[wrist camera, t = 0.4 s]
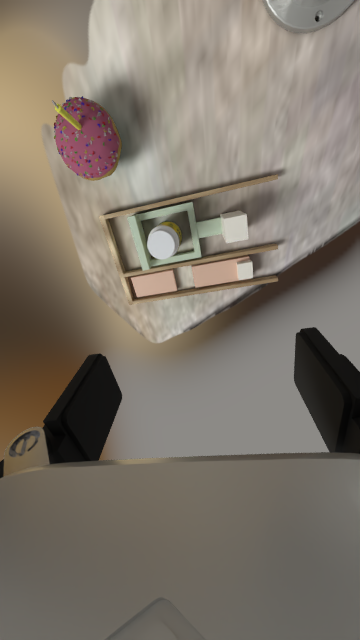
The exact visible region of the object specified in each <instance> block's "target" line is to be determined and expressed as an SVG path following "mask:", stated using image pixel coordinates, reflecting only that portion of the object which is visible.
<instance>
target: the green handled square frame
mask: <svg viewBox="0 0 360 640" xmlns="http://www.w3.org/2000/svg"><path fill="white" fill-rule="evenodd" d="M182 211H188V217H189V223H190V229H191V234H192V240H193V246H194V251H191V252H186V253H181V254H175V255H173V256H171V257H169V258H167V259H157V258H155V259H151V256H150V253H149V250H148V247H147V242H146V238H145V234H144V230H143V227H142V223H141V221H142V220H147V219H151V218H156V217H160V216H165V215H169V214H173V213H178V212H182ZM127 218H128V222H129V225H130V229H131V232H132V235H133V239H134V242H135V246H136V249H137V253H138V256H139V259H140V263H141V266H142V270H143V271H144V270H149V269H150V268H151V266H156V265H162V264H167V263H172V262H178V261H183V260H188V259H194V258H199V257H201V250H200V244H199V238H203V237H208V236H212V235H217V234H222V235H223V237H224V239H225V241H226V243H231V242H236V241H241V240H246V239H248V227H247V214H245V213H243V212H241V211H239V210H238V211H234V212H229V213H224V214H220V217H218V218H214V219H209V220H204V221H200V222H196V219H195V213H194V206H193V202H189V203H184V204H180V205H176V206H171V207H167V208H163V209H158V210H154V211H150V212H145V213H141V214H137V215H132V216H130V217H127Z"/></svg>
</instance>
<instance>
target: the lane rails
mask: <svg viewBox="0 0 360 640" xmlns="http://www.w3.org/2000/svg"><path fill="white" fill-rule="evenodd" d="M276 179H278V174H277V175H272V176H268V177H264V178H260V179H255V180H251V181H247V182H243V183H238V184H234V185H230V186H226V187H221V188H217V189H213V190H209V191H204V192H200V193H196V194H192V195H188V196H183V197H179V198H175V199H171V200H166V201H162V202H158V203H154V204H149V205H145V206H141V207H137V208H132V209H128V210H124V211H120V212H115V213H111V214H107V215H103V216H99V218H100V221H101V224H102V227H103V230H104V232H105V235H106V238H107V241H108V244H109V247H110V250H111V253H112V256H113V258H114V261H115V264H116V267H117V270H118V273H119V276H120V279H121V282H122V284H123V287H124V290H125V293H126V296H127V299H128V302H129V305H132V304H138V303H144V302H151V301H157V300H163V299H169V298H176V297H182V296H188V295H194V294H201V293H207V292H213V291H219V290H226V289H232V288H238V287H244V286H251V285H257V284H263V283H269V282H276V281H278V278H277V276H276V275H273V276H267V277H261V278H255V279H249V280H243V281H237V282H231V283H225V284H219V285H213V286H206V287H200V288H194V289H188V290H182V291H176V292H170V293H164V294H158V295H152V296H146V297H140V298H134V296H133V293H132V290H131V286H130V283H129V280H128V276H133V275H139V274H144V273H150V272H155V271H161V270H166V269H172V268H177V267H183V266H188V265H194V264H199V263H205V262H210V261H216V260H221V259H226V258H232V257H237V256H243V255H248V254H254V253H259V252H265V251H270V250H276V249H278V245H276V244H270V245H265V246H260V247H254V248H249V249H244V250H238V251H233V252H227V253H222V254H217V255H211V256H206V257H201V258H195V259H190V260H185V261H179V262H174V263H169V264H163V265H158V266H153V267H151V268H150V269H149V270H144V271H143V270H142V269H137V270H131V271H125V268H124V265H123V262H122V259H121V256H120V253H119V250H118V247H117V244H116V241H115V238H114V235H113V232H112V229H111V226H110V223H109V220H108V218H113V217H117V216H121V215H126V214H130V213H134V212H138V211H143V210H147V209H151V208H156V207H160V206H164V205H169V204H173V203H177V202H181V201H186V200H190V199H194V198H199V197H203V196H207V195H212V194H216V193H220V192H224V191H229V190H233V189H237V188H242V187H246V186H250V185H255V184H259V183H263V182H267V181H272V180H276Z"/></svg>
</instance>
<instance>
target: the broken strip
mask: <svg viewBox="0 0 360 640" xmlns="http://www.w3.org/2000/svg"><path fill="white" fill-rule="evenodd" d="M192 272H193V277H194V283H195V288H197V287H203V286H209V285H215V284H221V283H227V282H233V281H239V280H245V279H251V278H253V266H252V261H251V260H249V255H246V256H240V257H235V258H229V259H224V260H218V261H213V262H207V263H202V264H196V265H192ZM131 280H132V283H133V286H134V289H135V292H136V295H137V297H142V296H148V295H154V294H160V293H167V292H173V291H177V289H178V288H177V284H176V279H175V275H174V271H173V269H169V270H163V271H158V272H152V273H147V274H142V275H136V276H132V277H131Z"/></svg>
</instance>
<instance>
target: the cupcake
mask: <svg viewBox="0 0 360 640" xmlns="http://www.w3.org/2000/svg"><path fill="white" fill-rule="evenodd" d="M82 97H83V96H82ZM82 97H81V98H80V97H75V98H72V97H69V100H66V103H63V104H62V105H63V106H62V107H61V106H60V105H59V104H56V103H55V102H54V101H53V100H52V103H53V104H54V105H55V110H56V111H57V112H58V113H59V114H58V116H56V119H57V120H56V123H54V129H55V131H54V132H55V136H54V139H55V140H56V145H57V149H58V152H59V154H60V155H61V157H62V159H63V161H64V162H65V164H66V165H67V166H68V168H70V169H71V170H73V171H74V172H75V173H76V174H77V175H79V176H81V177H82V178H84V179H87V180H92V181H94V180H99V179H102V178H104V177H107V176H110V175H111V174H112V173H113V172H114V171H115V169H116V167H117V165H118V162H119V158H120V153H121V147H122V142H121V139H120V136H119V133H118V130H117V128H116V126H115V124H114V122H113V120H112V118H111V116H110V115H109V114H108V112H107V111H106V110H105V109H104V108H103V107H102V106H100V105H99V104H97V103H96V102H94V101H91V100H89V99H85V98H82ZM70 98H71V99H70ZM55 124H56V125H55Z"/></svg>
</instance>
